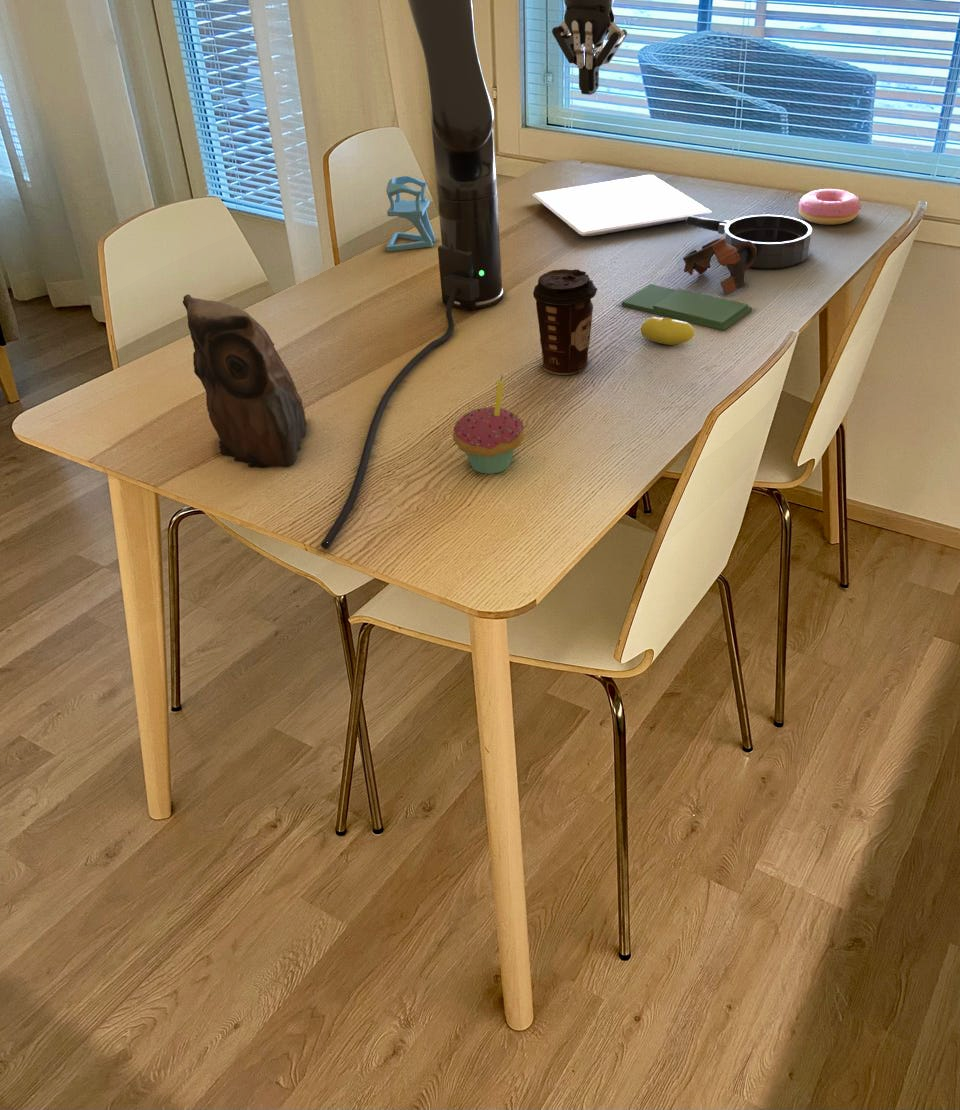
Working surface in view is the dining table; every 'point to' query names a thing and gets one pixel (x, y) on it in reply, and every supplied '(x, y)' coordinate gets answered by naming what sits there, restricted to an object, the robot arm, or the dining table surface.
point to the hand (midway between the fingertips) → (588, 93)
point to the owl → (245, 385)
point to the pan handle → (707, 223)
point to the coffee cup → (564, 319)
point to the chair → (410, 213)
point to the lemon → (666, 330)
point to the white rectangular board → (620, 205)
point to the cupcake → (489, 436)
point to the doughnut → (829, 206)
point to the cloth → (688, 306)
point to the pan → (771, 239)
